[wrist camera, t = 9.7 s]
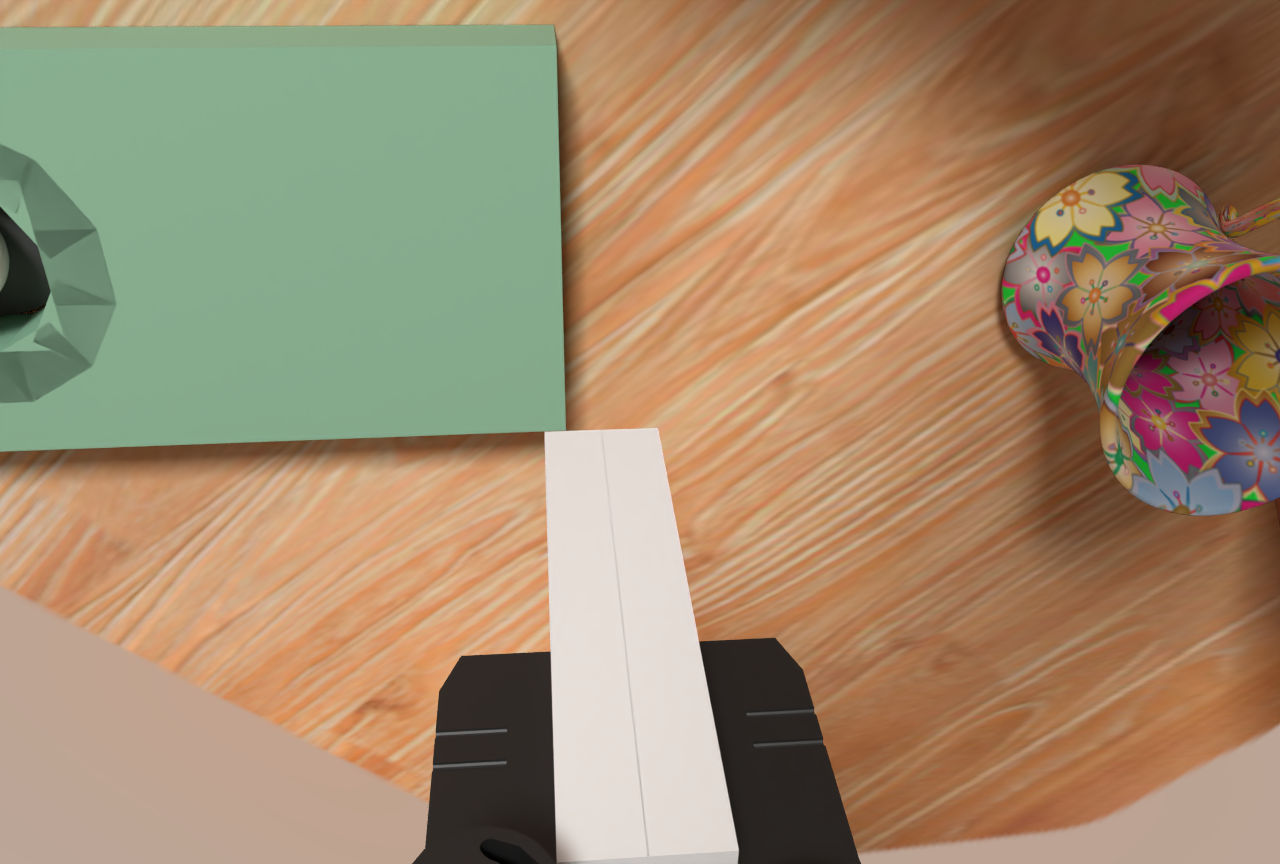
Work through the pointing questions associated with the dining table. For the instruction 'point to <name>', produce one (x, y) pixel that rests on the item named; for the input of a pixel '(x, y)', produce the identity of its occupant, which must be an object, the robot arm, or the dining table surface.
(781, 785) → the robot arm
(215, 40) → the green golf putting board
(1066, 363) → the mug
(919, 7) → the dining table surface
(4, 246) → the ball
